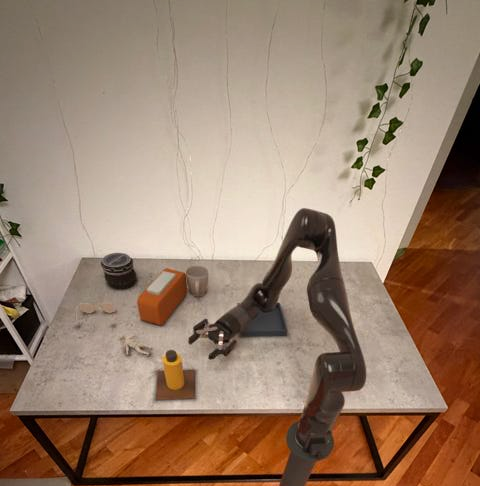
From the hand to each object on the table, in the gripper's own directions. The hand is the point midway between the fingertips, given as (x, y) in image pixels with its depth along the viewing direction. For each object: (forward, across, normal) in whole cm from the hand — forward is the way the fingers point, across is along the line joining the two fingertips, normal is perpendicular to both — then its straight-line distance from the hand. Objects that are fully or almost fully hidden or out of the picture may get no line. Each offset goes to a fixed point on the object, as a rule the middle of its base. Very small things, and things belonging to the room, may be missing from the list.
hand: (199, 350), depth 105 cm
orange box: (-16, -33, +16) cm, 40 cm away
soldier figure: (+8, -23, +13) cm, 27 cm away
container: (-15, -59, +20) cm, 64 cm away
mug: (-31, -29, +17) cm, 46 cm away
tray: (-35, 0, +13) cm, 37 cm away
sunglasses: (+7, -46, +16) cm, 49 cm away
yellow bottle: (+10, -1, +9) cm, 13 cm away
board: (+10, -1, +10) cm, 14 cm away
